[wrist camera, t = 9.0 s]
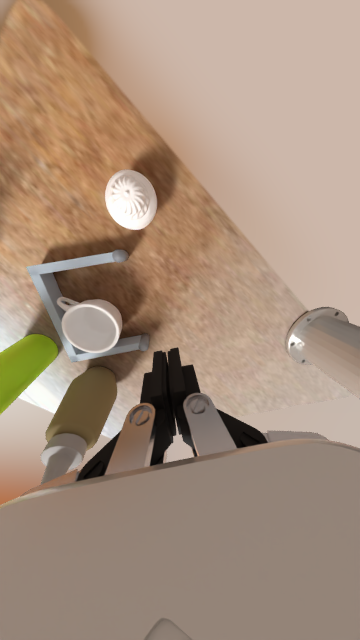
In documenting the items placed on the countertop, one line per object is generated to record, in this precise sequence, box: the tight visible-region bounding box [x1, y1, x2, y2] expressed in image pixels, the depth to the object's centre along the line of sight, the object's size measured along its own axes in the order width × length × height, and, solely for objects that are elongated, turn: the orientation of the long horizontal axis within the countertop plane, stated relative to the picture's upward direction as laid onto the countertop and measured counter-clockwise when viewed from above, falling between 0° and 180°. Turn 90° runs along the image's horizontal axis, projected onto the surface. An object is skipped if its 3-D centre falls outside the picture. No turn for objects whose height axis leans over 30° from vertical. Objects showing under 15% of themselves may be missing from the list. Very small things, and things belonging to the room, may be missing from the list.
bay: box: [26, 250, 150, 362], centre depth 27 cm, size 13×16×4 cm
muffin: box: [105, 170, 157, 230], centre depth 21 cm, size 6×6×7 cm
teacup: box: [57, 297, 122, 353], centre depth 27 cm, size 10×8×5 cm
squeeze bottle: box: [41, 366, 117, 484], centre depth 26 cm, size 8×8×18 cm
